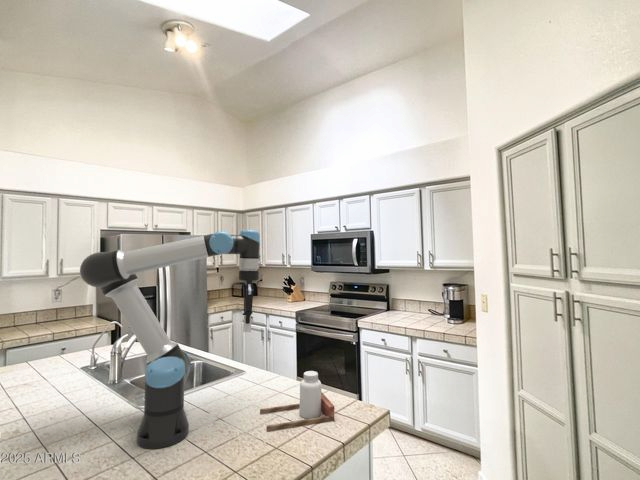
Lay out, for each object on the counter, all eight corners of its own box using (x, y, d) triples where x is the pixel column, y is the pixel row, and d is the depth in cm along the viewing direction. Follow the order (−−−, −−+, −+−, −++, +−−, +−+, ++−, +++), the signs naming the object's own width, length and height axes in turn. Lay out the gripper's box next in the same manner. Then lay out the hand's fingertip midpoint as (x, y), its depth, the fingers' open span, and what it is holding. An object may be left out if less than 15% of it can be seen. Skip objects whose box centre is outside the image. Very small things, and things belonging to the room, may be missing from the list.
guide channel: (267, 431, 112) (267, 416, 112) (260, 413, 125) (260, 399, 125) (334, 420, 120) (334, 406, 120) (321, 404, 133) (321, 391, 133)
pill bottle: (312, 421, 119) (312, 378, 120) (295, 415, 124) (295, 373, 124) (325, 413, 125) (325, 372, 126) (308, 407, 130) (308, 368, 131)
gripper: (260, 270, 126) (258, 335, 125) (256, 269, 138) (254, 327, 137) (240, 270, 124) (238, 335, 122) (237, 269, 136) (235, 328, 135)
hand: (246, 331), depth 130 cm, fingers closed
